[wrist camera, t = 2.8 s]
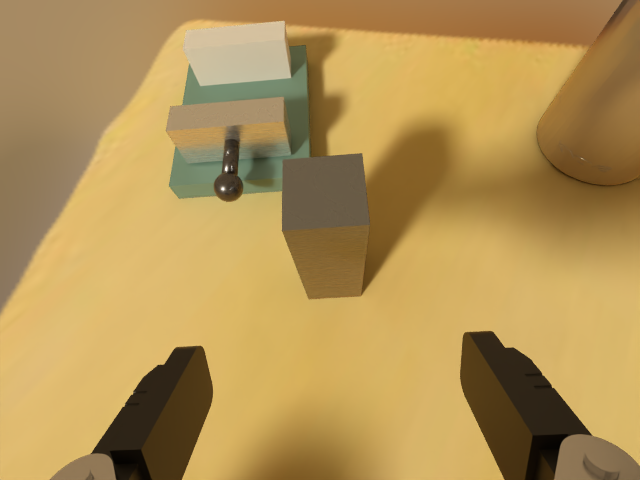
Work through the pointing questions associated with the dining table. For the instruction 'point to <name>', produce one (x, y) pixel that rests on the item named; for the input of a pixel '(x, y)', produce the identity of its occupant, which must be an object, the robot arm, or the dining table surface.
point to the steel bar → (326, 222)
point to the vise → (244, 97)
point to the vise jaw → (230, 136)
